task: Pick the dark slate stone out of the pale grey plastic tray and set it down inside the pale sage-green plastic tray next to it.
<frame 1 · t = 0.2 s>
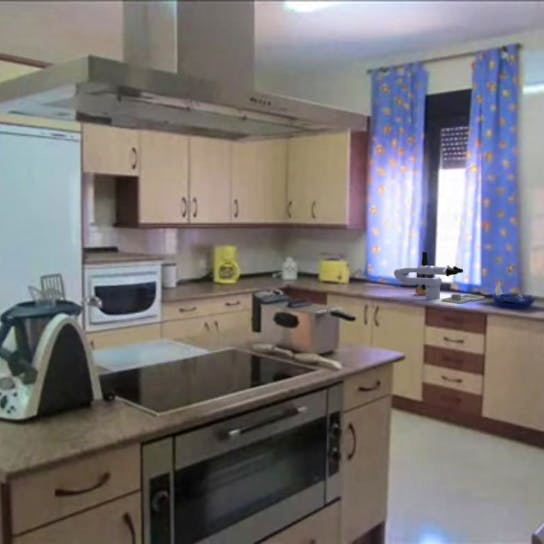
hand: (460, 271, 411), 21 cm above the countertop, tool horizontal, fingers open, 7 cm apart
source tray: (455, 302, 413), on the countertop
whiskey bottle: (424, 294, 451), on the countertop
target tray: (470, 300, 421), on the countertop
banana: (508, 302, 410), on the countertop
stone: (455, 301, 413), point 1 cm above the countertop, touching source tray
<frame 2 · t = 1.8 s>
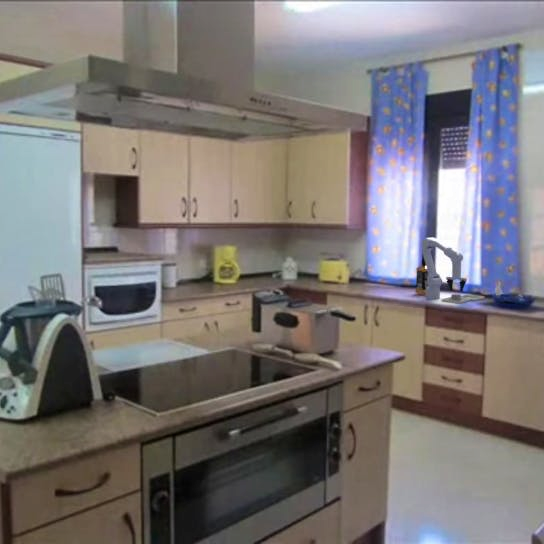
hand: (456, 290, 412), 8 cm above the countertop, tool pointing down, fingers open, 7 cm apart
nothing on the countertop moved.
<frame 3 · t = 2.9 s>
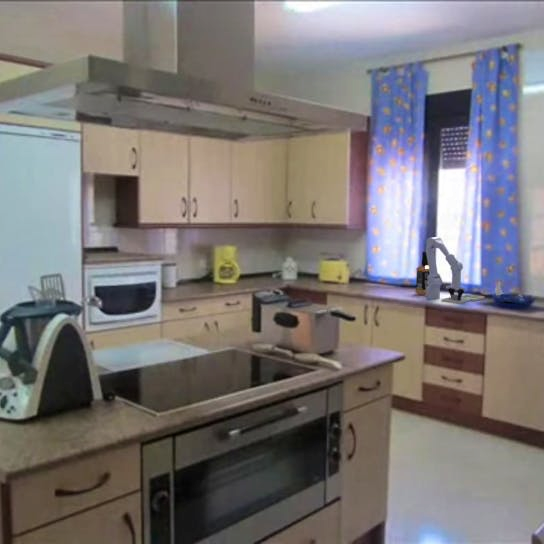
hand: (456, 299, 413), 2 cm above the countertop, tool pointing down, fingers closed on stone, 4 cm apart
stone: (455, 301, 413), point 1 cm above the countertop, touching gripper, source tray
everything else where it was.
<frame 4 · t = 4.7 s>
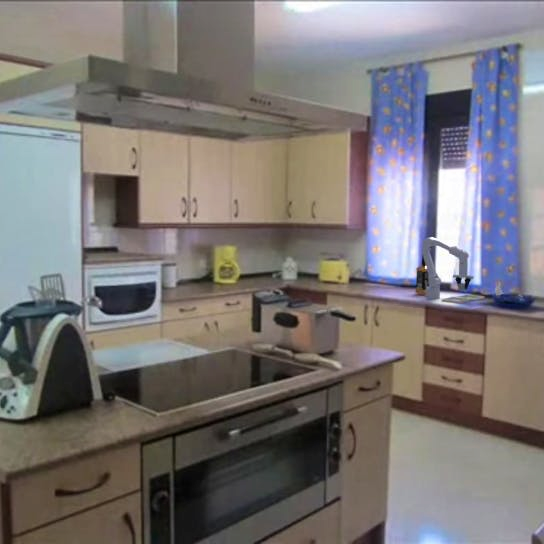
hand: (462, 288, 416), 9 cm above the countertop, tool pointing down, fingers closed on stone, 4 cm apart
stone: (462, 290, 415), point 8 cm above the countertop, touching gripper
everything else where it was.
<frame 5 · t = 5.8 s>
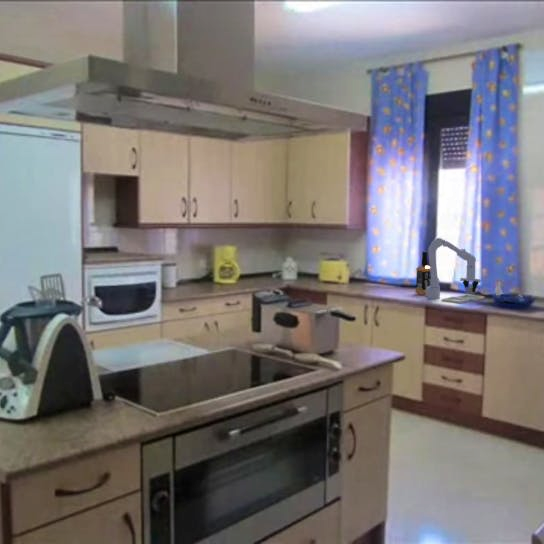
hand: (470, 291, 420), 6 cm above the countertop, tool pointing down, fingers closed on stone, 4 cm apart
stone: (470, 293, 420), point 5 cm above the countertop, touching gripper
everything else where it was.
when the fingers open (3 cm above the countertop, at t = 6.8 s): stone drops 1 cm, resting on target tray.
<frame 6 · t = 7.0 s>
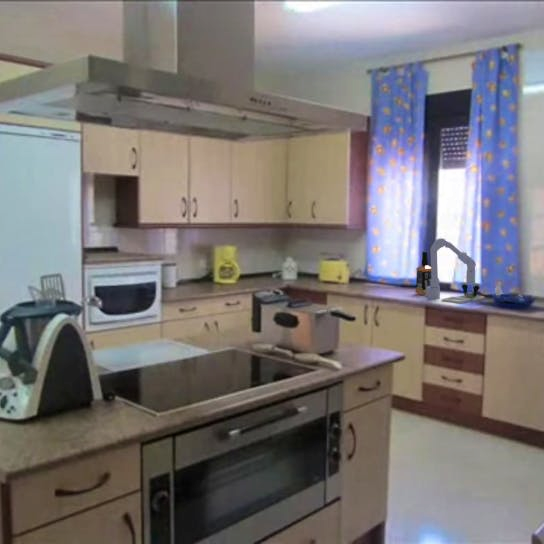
hand: (470, 296, 421), 3 cm above the countertop, tool pointing down, fingers open, 6 cm apart
stone: (470, 298, 421), point 1 cm above the countertop, touching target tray
everything else where it was.
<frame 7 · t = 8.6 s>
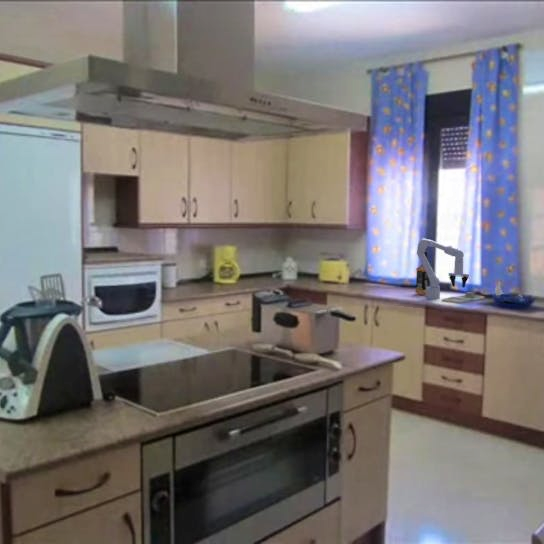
hand: (458, 286, 422), 9 cm above the countertop, tool pointing down, fingers open, 7 cm apart
nothing on the countertop moved.
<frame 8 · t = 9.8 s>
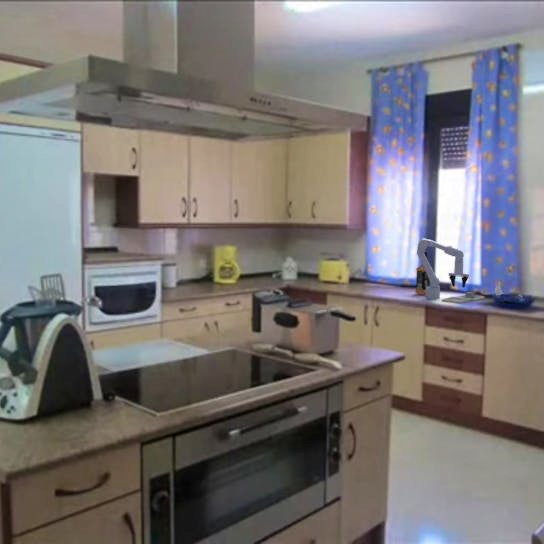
hand: (458, 286, 422), 9 cm above the countertop, tool pointing down, fingers open, 7 cm apart
nothing on the countertop moved.
at the end: stone inside the target area on the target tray (0.4 cm from its centre), point 1.0 cm above the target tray's base; the gripper is holding nothing; stone moved 14.5 cm from its start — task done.
